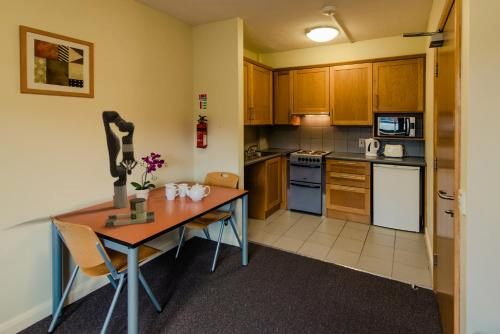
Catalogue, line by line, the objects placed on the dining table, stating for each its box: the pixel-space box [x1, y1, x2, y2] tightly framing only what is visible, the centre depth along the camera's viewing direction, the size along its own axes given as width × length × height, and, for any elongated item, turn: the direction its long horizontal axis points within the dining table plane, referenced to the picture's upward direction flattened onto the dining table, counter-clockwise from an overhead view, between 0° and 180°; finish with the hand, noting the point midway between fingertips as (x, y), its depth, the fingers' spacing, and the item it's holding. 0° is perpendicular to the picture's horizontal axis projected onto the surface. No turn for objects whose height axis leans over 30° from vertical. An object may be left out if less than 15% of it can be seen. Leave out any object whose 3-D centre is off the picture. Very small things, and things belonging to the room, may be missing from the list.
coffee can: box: [129, 197, 147, 220], centre depth 203 cm, size 10×10×14 cm
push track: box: [104, 211, 155, 227], centre depth 202 cm, size 30×16×2 cm, turn 108°
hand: (129, 174), depth 213 cm, fingers closed
